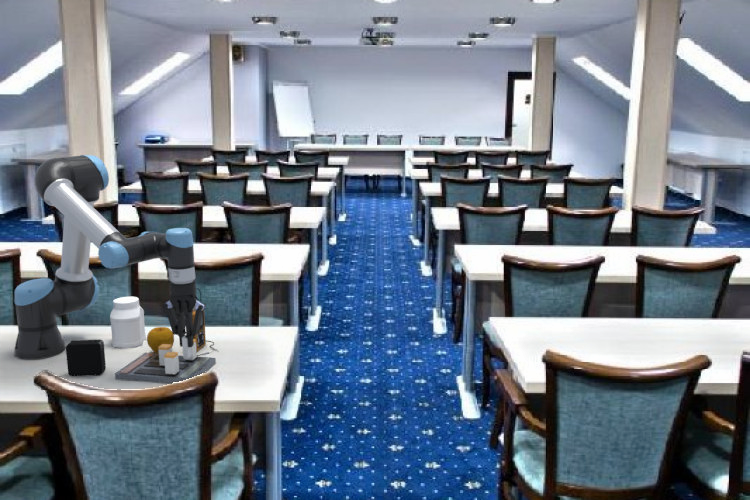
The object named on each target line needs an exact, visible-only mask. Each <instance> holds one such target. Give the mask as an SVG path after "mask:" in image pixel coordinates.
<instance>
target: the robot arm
mask: <svg viewBox="0 0 750 500" xmlns="http://www.w3.org/2000/svg"><path fill="white" fill-rule="evenodd" d="M33 181H34V187H35V190H36V192H37V194H38V195H39V197H40V198H41V200H43V201H44V203H46V204H47V205H49V206H51V207H55V208H56V209H57V210H58V211H59V212H60V213H61V214H62V215H63V216H64V217H63V232H62V244H61V245H62V246H61V248H62V249H61V261H60V267H59V268H57V269H56V271H55V274H54V280H52V279H51V278H46V277H41V278H37V279H35V278H34V279H30V280H27V281H24V282H22V283H20V284H19V285H17V286H16V288H15V289H14V304H15V305H14V306H15V313H16V321H17V330H18V334H17V337H16V341H15V346H14V356H15V357H16V358H18V359H22V360H40V359H45V358H51V357H54V356H57V355H60V354H61V353H63V352H64V351H66V342H65V340H64V338H63V336H62V333H61V331H60V329H59V328H58V322H57V317H59V316H63V315H65V314H69V313H70V314H71V313H73V312H77V311H83V310H85V309H86V308H89V307H92V306H93V305H94V304H95V303H96V302H97V301H98V298H99V294H100V286H99V284H98V279H97V277H96V276H95V275H94V274H93V271H92V270H90V267H89V265H90V255H91V254H90V252H91V243H92V244H93V245H94V246H95V247H96V248H97V249H98V251H97V254H98V259H99V260H100V263H101V265H102V266H103V267H105V268H106V269H116V268H117V269H119V268H124V267H126V266H130V265H134V264H138V263H143V262H147V261H150V260H155V259H156V260H157V259H160V260H167V269H168V280H169V294H170V297H169V300H168V301H166V302H164V303H163V304H162V308H163V309H164V311H165V312H166V316H167V319H168V322H169V325H170V328H171V329H170V330H171V331H172V332H173V334H174V335H175V336H178V338H179V339H178V340H179V346H180V348H182V356H183V358H186V359H188V358H189V357H191V356H192V351H191V347H192V346H193V345H194V343H193V336H195V335H196V334H198V333H199V330H200V324H201V318H202V312H203V310H204V311H205V309H206V303H202V302H200V301H199V299H198V297H197V289H196V288H197V283H196V282H197V281H196V280H195V279H196V272H195V271H196V270H195V251H194V243H195V242H194V238H193V232H192V230H191V229H190V228H188V227H187V228H186V227H175V228H170V229H167V230H166V232H165V233H163V232H162V233H161V232H158V231H143V232H141V233H140V235H138V236H134V237H125V236H124V235H123V234H122V233H121V232H120V231H119V230H118V229H116V227H115V226H114V225H113V224H112V223H110V222H109V221H108V220H107V219H106V218H105V217H104V216H103V215H102V214H101V212H99V211H98V210H97V209H95V207H94V206H95V205H94V204H95V203H96V202H98V201H99V199H100V192H102V191H104V190H105V189H106V188H108V186H109V183H110V177H109V172H108V169H107V166H106V165H105V163H104V161H103V160H101V158H99V157H98V156H96V155H92V154H90V155H89V154H88V155H85V154H81V155H74V156H65V157H54V158H49V159H47V160H45V161H43V162H42V163H41V164H40V165H39V166H38V168H37V169H36V172H35V174H34V179H33ZM195 305H196V313H195V318H194V324H193V316H192V313H193V309H194V306H195ZM174 309H175V310H174Z"/></svg>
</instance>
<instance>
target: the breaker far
mask: <svg viewBox="0 0 750 500" xmlns="http://www.w3.org/2000/svg"><path fill="white" fill-rule="evenodd" d="M193 343H194V345H193V346H192V347H191V351H192V356H191V357H189V358H188V359H186V358H184V360H194V359H195V358H196V357H198V356H197V355H198V354H197V353H198V351H196V339H193Z"/></svg>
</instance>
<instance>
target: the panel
mask: <svg viewBox="0 0 750 500" xmlns="http://www.w3.org/2000/svg"><path fill="white" fill-rule="evenodd" d="M178 359H179V372H177V373H176V374H166V373H165V366H163V365H160V363H159V354H156V353H155V352H144V353H143V354H141V355H139V356H138V357H137V358H135V359H134V360H132V361H131V362H130V363H128V364H126V365H125V366H124V367H122V368H120V369H119V370H118V371H116V372H115V373H114V380H121V381H134V382H145V383H146V382H148V383H156V384H157V383H159V384H169V383H173V382H179V381H183V380H186V379H189V378H192V377H194V376H197V375H200V374H202V373H204V374H206V372H208V371H209V370H210V369H211V368H212V367H213V366H215V365H216V364H217V362H216V361H217V360H216V357H210V356H197V357H196V358H195V359H194V360H184V358H183V354H182V355H179V354H178ZM205 371H206V372H205Z"/></svg>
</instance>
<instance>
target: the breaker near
mask: <svg viewBox="0 0 750 500" xmlns="http://www.w3.org/2000/svg"><path fill="white" fill-rule="evenodd" d="M178 355H179V352H177V351H172V352H168V353H166V354H165V355H164V359H165V373H166V374H176V373H177V372H179V359H178Z"/></svg>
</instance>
